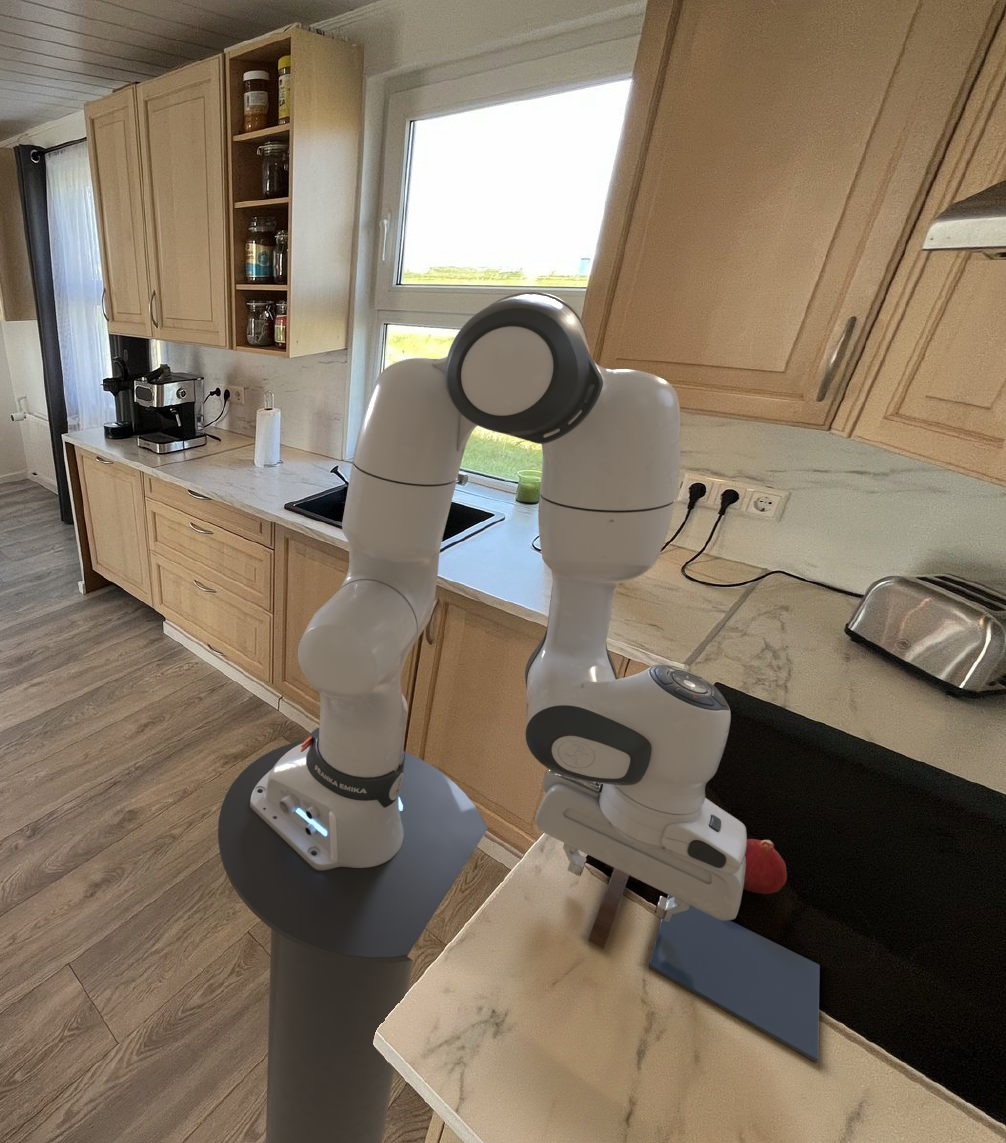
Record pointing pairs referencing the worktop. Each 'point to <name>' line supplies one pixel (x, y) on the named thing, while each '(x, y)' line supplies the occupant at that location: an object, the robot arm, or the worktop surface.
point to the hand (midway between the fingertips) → (617, 891)
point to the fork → (609, 906)
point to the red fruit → (763, 867)
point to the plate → (742, 976)
